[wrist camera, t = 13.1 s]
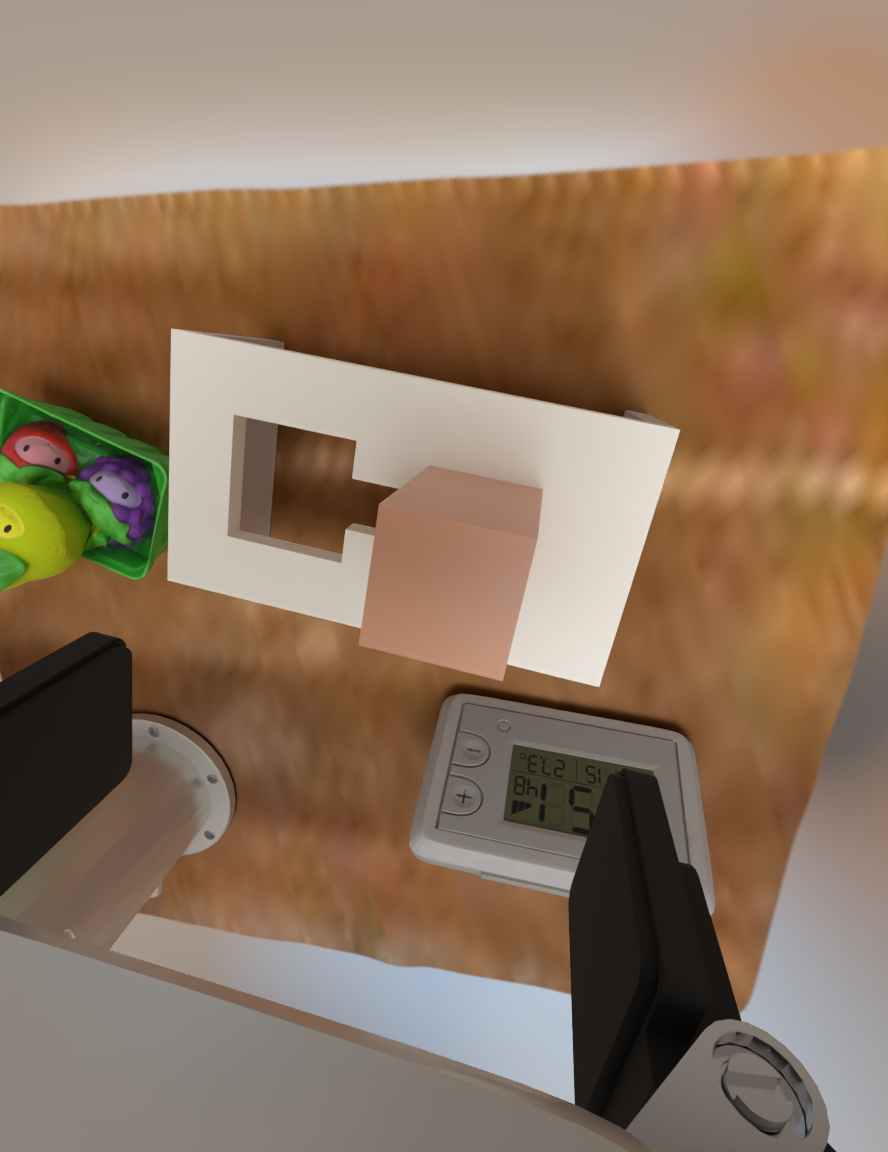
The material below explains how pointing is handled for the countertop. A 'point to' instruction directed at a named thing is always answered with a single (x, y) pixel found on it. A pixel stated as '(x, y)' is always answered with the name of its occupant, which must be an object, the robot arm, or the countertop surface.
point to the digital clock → (542, 790)
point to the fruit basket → (76, 494)
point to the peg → (451, 570)
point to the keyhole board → (392, 458)
